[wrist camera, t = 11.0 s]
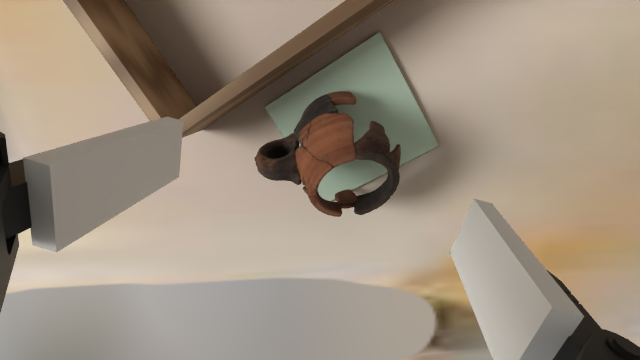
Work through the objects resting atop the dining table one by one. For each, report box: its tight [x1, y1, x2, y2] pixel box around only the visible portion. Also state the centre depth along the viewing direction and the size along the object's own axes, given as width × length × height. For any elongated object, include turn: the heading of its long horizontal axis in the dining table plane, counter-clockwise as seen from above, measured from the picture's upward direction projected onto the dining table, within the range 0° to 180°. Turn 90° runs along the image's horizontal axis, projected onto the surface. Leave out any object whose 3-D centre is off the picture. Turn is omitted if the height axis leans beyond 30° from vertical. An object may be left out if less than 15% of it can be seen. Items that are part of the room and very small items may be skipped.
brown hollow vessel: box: [255, 91, 401, 217], centre depth 29 cm, size 12×9×8 cm
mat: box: [264, 32, 439, 201], centre depth 31 cm, size 11×12×1 cm
